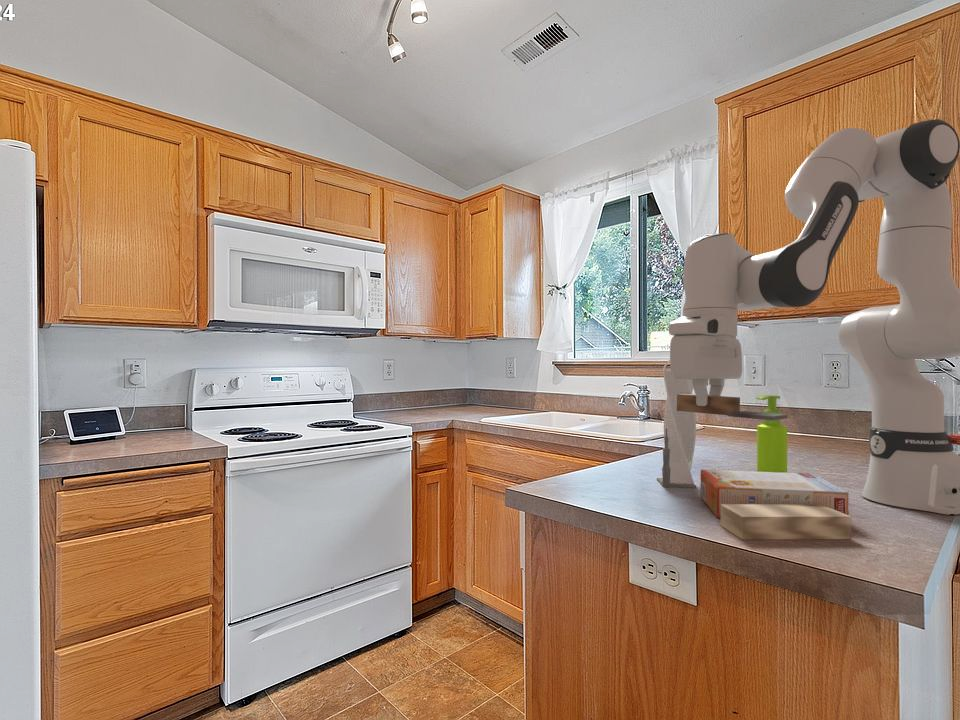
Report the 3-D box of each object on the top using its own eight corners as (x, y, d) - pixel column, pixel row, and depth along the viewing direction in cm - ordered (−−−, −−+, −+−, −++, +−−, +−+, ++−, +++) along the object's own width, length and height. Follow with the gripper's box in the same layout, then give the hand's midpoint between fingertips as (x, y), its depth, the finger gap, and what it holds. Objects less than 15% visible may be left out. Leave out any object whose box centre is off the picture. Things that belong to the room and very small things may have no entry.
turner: (787, 418, 85) (787, 399, 85) (773, 420, 81) (773, 401, 81) (688, 409, 98) (688, 393, 98) (672, 411, 94) (672, 394, 94)
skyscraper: (655, 478, 123) (655, 359, 123) (691, 479, 122) (691, 359, 122) (663, 486, 114) (663, 359, 114) (701, 488, 113) (702, 359, 113)
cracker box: (716, 520, 91) (850, 526, 87) (716, 485, 91) (850, 490, 87) (699, 498, 105) (815, 503, 101) (699, 468, 105) (814, 472, 101)
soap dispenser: (747, 483, 118) (747, 394, 118) (769, 480, 120) (769, 394, 121) (771, 489, 112) (771, 396, 112) (793, 486, 115) (793, 395, 115)
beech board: (820, 524, 88) (820, 504, 88) (851, 539, 81) (851, 516, 81) (720, 525, 87) (720, 504, 87) (742, 539, 80) (742, 516, 80)
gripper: (717, 330, 101) (716, 401, 101) (663, 323, 88) (662, 406, 87) (752, 329, 96) (751, 404, 96) (700, 322, 83) (698, 409, 83)
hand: (708, 405), depth 92 cm, fingers closed on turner, 3 cm apart
